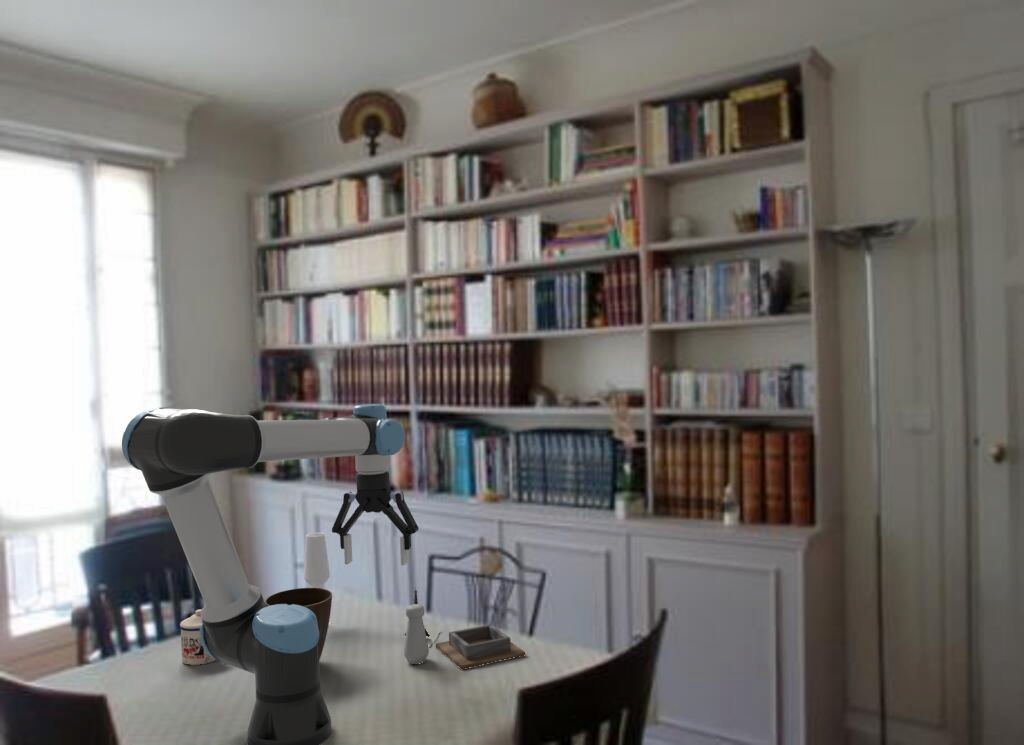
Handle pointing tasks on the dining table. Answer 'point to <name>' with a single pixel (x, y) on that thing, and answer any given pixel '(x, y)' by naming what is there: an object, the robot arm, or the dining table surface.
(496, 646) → the socket stand
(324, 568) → the champagne flute
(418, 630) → the salt shaker
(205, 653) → the teacup with lid
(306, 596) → the plant pot
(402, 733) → the dining table surface
